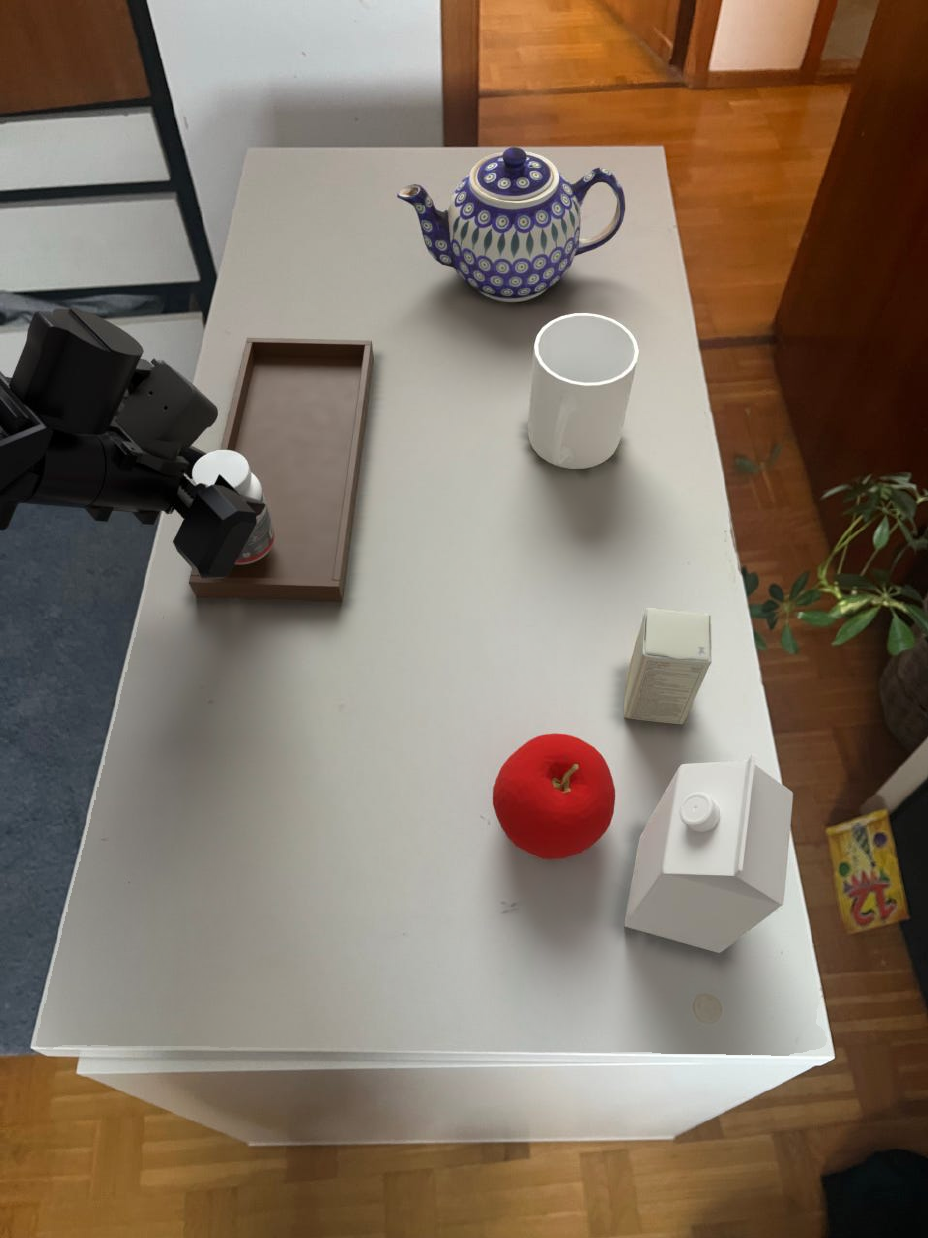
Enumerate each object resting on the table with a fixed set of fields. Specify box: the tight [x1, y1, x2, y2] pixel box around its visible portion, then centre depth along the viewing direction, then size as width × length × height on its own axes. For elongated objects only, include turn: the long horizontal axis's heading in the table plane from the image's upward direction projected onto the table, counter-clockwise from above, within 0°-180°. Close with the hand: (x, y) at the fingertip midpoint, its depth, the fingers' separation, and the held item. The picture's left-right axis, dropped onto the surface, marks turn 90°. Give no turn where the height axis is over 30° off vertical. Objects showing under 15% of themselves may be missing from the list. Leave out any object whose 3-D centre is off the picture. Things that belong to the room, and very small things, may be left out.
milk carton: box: [624, 753, 794, 954], centre depth 58 cm, size 7×7×19 cm
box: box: [623, 607, 713, 725], centre depth 70 cm, size 5×4×11 cm
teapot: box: [396, 146, 626, 303], centre depth 97 cm, size 25×15×15 cm, turn 93°
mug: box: [527, 312, 640, 470], centre depth 84 cm, size 10×12×12 cm
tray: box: [188, 337, 375, 603], centre depth 87 cm, size 31×13×2 cm, turn 178°
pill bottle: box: [192, 449, 275, 565], centre depth 77 cm, size 6×6×10 cm
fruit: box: [492, 732, 616, 860], centre depth 65 cm, size 9×9×10 cm
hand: (242, 488), depth 76 cm, fingers closed on pill bottle, 6 cm apart
